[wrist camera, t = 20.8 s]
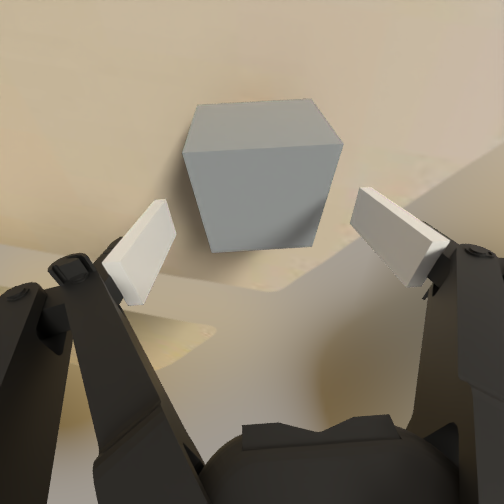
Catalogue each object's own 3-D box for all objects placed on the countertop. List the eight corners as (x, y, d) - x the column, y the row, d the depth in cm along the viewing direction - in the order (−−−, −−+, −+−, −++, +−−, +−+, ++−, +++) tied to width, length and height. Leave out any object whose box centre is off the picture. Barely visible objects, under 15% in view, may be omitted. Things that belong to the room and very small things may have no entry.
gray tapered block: (216, 198, 26) (211, 252, 21) (197, 104, 18) (182, 152, 13) (295, 194, 27) (311, 246, 21) (311, 98, 19) (343, 143, 13)
